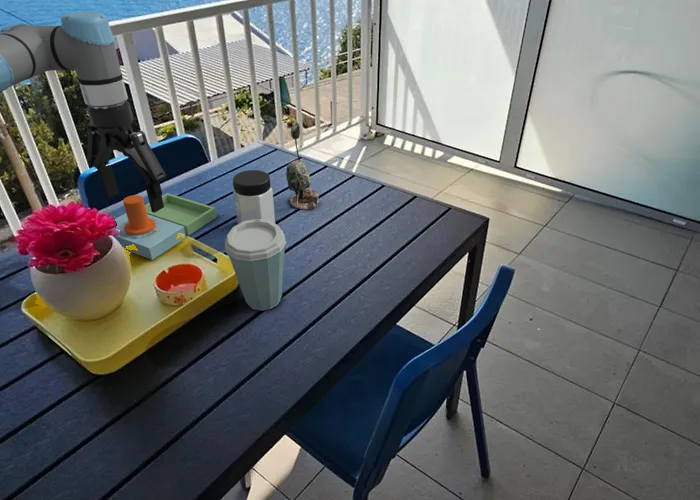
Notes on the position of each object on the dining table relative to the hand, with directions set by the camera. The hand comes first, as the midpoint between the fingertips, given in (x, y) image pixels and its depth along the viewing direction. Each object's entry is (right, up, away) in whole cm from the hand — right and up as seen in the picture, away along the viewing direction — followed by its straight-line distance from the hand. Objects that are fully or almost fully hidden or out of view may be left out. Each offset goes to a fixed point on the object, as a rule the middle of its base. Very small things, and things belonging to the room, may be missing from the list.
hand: (134, 202), depth 106 cm
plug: (0, -8, +5) cm, 9 cm away
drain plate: (0, -8, +5) cm, 9 cm away
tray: (+5, -2, +13) cm, 14 cm away
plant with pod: (+34, +2, +20) cm, 39 cm away
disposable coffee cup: (+29, -20, -12) cm, 37 cm away
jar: (+24, -4, +11) cm, 27 cm away
